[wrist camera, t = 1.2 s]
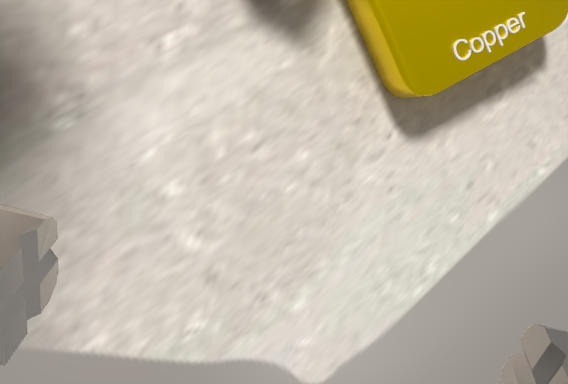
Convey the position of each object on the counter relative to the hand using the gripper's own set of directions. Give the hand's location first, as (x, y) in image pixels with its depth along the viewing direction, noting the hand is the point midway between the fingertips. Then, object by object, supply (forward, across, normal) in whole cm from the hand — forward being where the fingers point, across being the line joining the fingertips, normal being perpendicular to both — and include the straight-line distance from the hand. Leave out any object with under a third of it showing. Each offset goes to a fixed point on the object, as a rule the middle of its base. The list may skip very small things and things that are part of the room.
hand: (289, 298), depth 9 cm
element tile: (+39, -8, -1) cm, 40 cm away
